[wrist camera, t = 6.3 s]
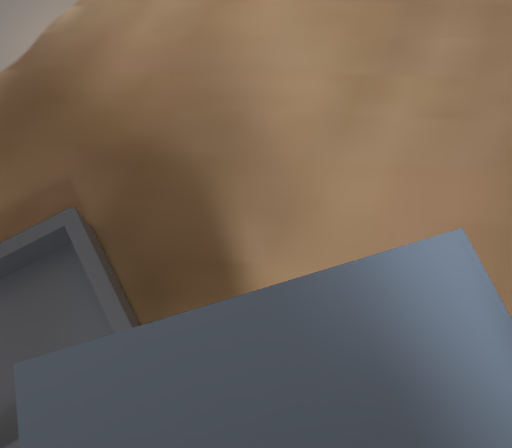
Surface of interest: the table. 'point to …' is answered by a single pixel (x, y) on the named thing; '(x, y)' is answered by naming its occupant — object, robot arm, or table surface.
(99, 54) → the table surface
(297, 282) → the panel block
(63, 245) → the rack
